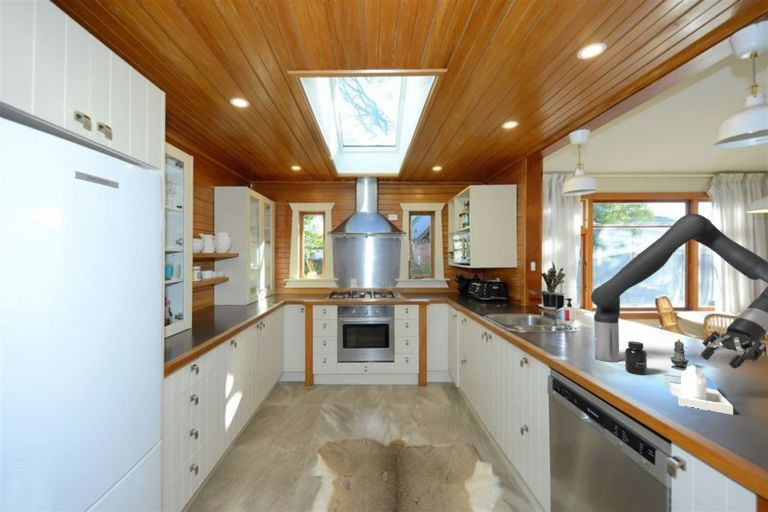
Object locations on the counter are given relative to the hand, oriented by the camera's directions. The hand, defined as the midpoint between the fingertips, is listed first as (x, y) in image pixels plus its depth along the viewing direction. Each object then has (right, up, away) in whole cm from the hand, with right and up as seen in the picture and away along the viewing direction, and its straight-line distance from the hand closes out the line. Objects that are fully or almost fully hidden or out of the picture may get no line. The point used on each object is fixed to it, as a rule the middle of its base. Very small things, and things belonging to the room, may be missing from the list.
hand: (717, 362), depth 103 cm
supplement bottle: (-5, -13, +27) cm, 31 cm away
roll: (-8, -13, 0) cm, 15 cm away
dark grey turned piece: (+17, -13, +31) cm, 38 cm away
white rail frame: (-3, -13, +5) cm, 14 cm away
